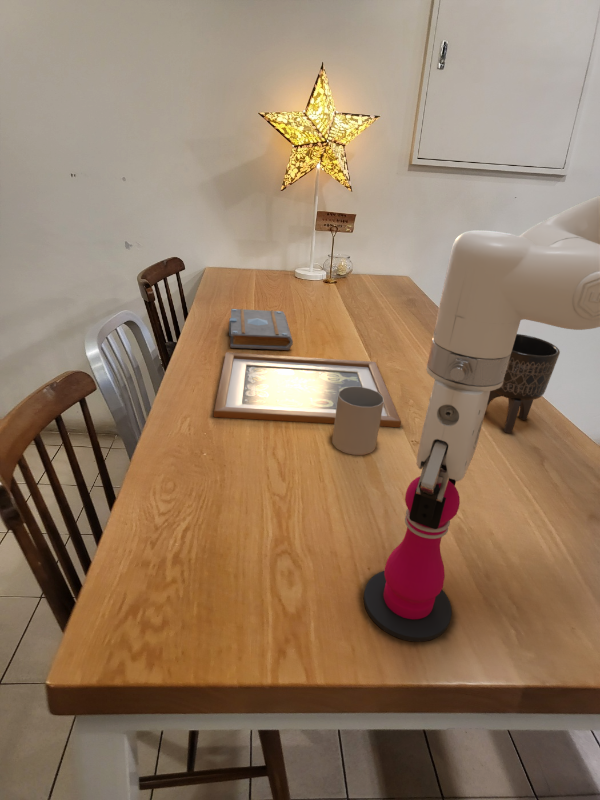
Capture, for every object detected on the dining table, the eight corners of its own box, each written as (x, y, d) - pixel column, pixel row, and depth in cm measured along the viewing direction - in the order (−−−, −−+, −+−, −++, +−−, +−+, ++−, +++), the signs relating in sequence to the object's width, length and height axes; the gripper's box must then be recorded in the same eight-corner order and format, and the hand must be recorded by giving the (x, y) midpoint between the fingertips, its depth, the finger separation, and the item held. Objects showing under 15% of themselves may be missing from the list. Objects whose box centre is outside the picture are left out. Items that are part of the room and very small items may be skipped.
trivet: (422, 567, 75) (423, 562, 75) (467, 631, 66) (469, 626, 65) (350, 580, 71) (350, 576, 71) (387, 650, 62) (388, 645, 62)
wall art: (225, 351, 134) (375, 361, 137) (225, 357, 135) (374, 366, 138) (213, 410, 107) (401, 421, 110) (213, 417, 107) (400, 427, 110)
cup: (364, 460, 98) (372, 411, 94) (324, 445, 101) (330, 398, 97) (381, 440, 105) (390, 395, 100) (344, 427, 108) (350, 382, 104)
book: (291, 351, 142) (293, 333, 140) (228, 348, 140) (229, 330, 138) (284, 324, 161) (286, 308, 159) (229, 322, 158) (229, 305, 156)
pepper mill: (447, 602, 68) (485, 472, 59) (415, 634, 64) (451, 497, 55) (400, 570, 73) (429, 444, 64) (367, 597, 68) (393, 465, 59)
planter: (540, 440, 111) (567, 360, 103) (476, 429, 112) (498, 350, 104) (528, 411, 122) (551, 338, 114) (470, 402, 124) (489, 329, 116)
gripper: (491, 405, 45) (446, 566, 53) (516, 346, 59) (478, 480, 67) (405, 381, 48) (375, 538, 56) (449, 330, 62) (419, 461, 70)
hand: (431, 505), depth 61 cm, fingers closed on pepper mill, 6 cm apart
